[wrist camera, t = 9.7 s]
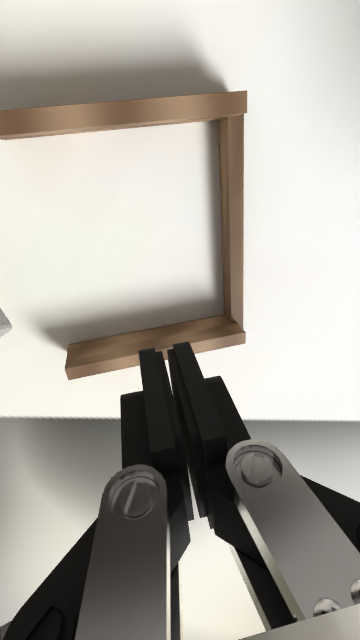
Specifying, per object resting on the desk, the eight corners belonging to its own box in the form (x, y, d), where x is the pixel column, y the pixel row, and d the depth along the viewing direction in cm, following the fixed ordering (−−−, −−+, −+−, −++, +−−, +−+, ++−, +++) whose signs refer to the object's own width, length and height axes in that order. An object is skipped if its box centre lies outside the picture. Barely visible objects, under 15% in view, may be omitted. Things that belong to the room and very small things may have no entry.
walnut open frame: (233, 99, 24) (255, 89, 20) (235, 322, 33) (251, 342, 30) (-2, 119, 21) (-22, 112, 18) (72, 354, 31) (68, 380, 27)
